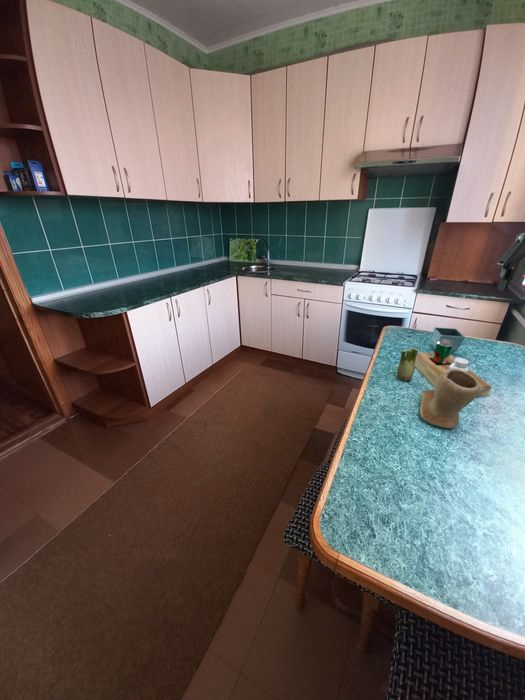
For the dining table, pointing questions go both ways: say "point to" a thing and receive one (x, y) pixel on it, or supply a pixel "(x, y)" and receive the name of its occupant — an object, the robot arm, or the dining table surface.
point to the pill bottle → (460, 364)
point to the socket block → (434, 371)
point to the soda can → (442, 352)
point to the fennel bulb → (407, 364)
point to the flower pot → (448, 337)
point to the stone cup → (448, 398)
